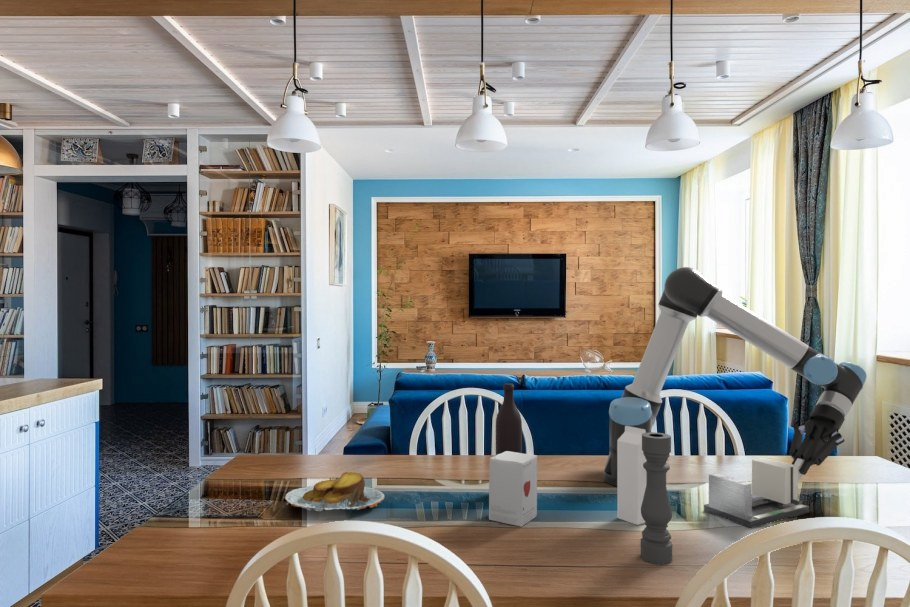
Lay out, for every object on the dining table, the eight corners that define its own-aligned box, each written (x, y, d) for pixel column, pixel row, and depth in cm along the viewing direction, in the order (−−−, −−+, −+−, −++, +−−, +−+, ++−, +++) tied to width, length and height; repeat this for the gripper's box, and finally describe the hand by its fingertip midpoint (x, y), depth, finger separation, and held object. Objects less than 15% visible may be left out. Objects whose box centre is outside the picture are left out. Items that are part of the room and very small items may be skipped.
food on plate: (273, 499, 163) (273, 474, 163) (360, 484, 176) (360, 462, 176) (304, 529, 141) (304, 500, 141) (400, 510, 154) (400, 484, 154)
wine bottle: (527, 494, 165) (527, 383, 165) (511, 501, 160) (511, 386, 160) (506, 489, 170) (506, 381, 170) (490, 495, 165) (490, 384, 165)
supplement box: (522, 527, 141) (521, 463, 141) (488, 520, 146) (487, 457, 146) (538, 516, 149) (538, 454, 149) (505, 509, 154) (505, 450, 154)
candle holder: (673, 554, 126) (673, 433, 126) (670, 566, 120) (670, 440, 120) (642, 549, 129) (642, 431, 128) (638, 561, 123) (638, 437, 123)
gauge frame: (750, 528, 141) (750, 486, 141) (703, 510, 152) (703, 472, 152) (809, 512, 151) (809, 474, 151) (761, 497, 162) (761, 461, 162)
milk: (637, 525, 143) (637, 431, 142) (616, 518, 147) (616, 427, 147) (653, 519, 146) (653, 427, 146) (632, 512, 151) (632, 423, 151)
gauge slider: (791, 506, 148) (792, 470, 148) (752, 494, 158) (752, 459, 158) (804, 503, 150) (804, 467, 150) (764, 491, 160) (764, 457, 160)
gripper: (861, 425, 161) (822, 497, 153) (812, 416, 173) (774, 484, 165) (849, 406, 159) (809, 479, 151) (800, 399, 170) (761, 467, 162)
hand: (791, 481), depth 158 cm, fingers closed
